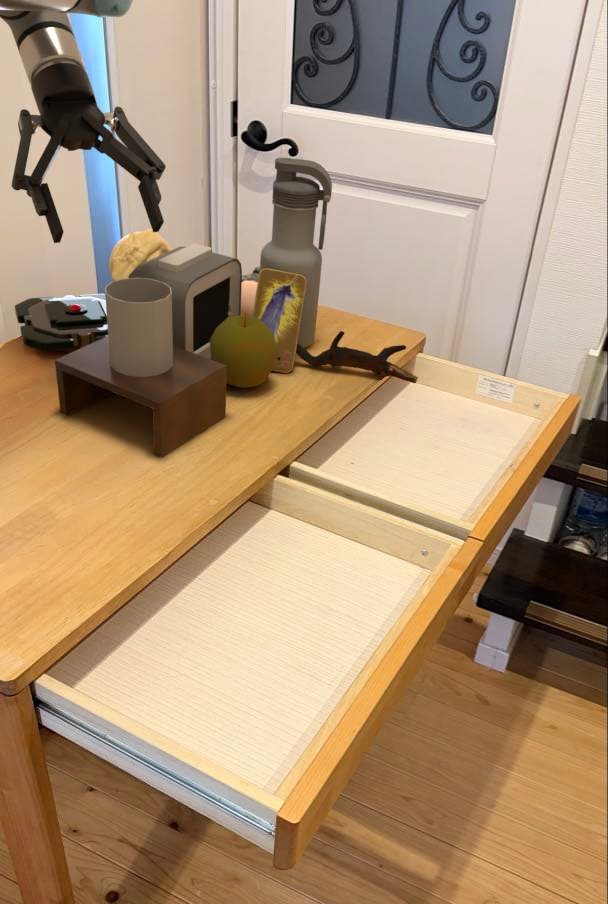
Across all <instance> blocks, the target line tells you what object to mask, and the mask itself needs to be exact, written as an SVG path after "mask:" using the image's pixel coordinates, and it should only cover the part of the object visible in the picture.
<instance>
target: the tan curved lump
mask: <svg viewBox="0 0 608 904" xmlns="http://www.w3.org/2000/svg"><path fill="white" fill-rule="evenodd" d="M171 250H173V248H172V246H171V245H170V244H169V243H168V242H167V240H165V239H164V238H163V237H162V236H161V234H160V233H159V232H153V230H152V228H148V229H145V230H143V231H134V232H129V234H127V235H125V236H123V237H122V238H121V239H119V240H118V241H117V243H116V244H115V245H114V247H113V249H112V251H111V253H110V256H109V261H108V263H109V264H108V266H109V267H108V268H109V273H110V276H111V280H112V282H114V281H117V280H121V279H128V278H129V274H130V273H131V272H132V271H133V270H134V269H135V268H136V267H137V266H139V265H141V264H143V263H145V262H147V261H149V260H152V259H154V258H156V257H158V256H160V255H162V254H165V253H167V252H169V251H171Z"/></svg>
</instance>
